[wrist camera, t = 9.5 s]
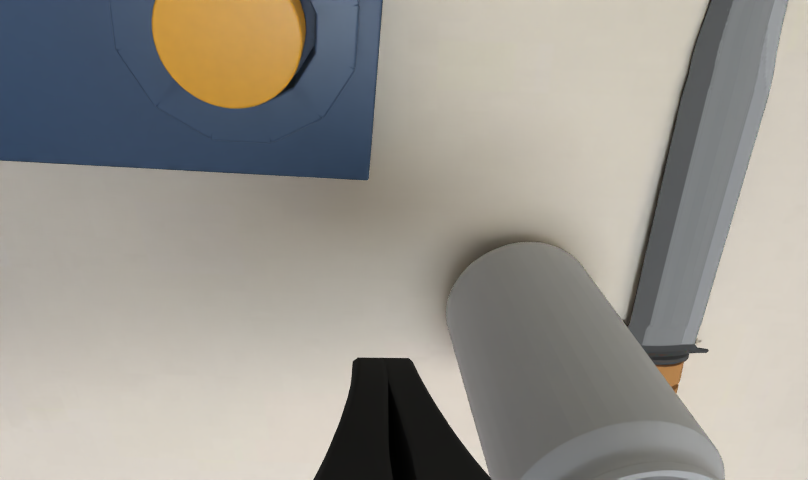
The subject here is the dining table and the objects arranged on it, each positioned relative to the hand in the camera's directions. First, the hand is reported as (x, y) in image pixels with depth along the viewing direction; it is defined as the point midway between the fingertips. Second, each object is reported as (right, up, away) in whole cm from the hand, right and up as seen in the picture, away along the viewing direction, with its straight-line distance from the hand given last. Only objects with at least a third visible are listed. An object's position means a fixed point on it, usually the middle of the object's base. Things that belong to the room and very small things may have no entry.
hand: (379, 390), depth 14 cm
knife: (+13, +3, +12) cm, 18 cm away
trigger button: (-4, +10, +2) cm, 11 cm away
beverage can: (+5, +1, +12) cm, 13 cm away
